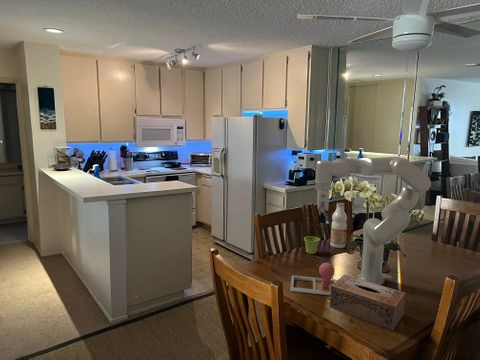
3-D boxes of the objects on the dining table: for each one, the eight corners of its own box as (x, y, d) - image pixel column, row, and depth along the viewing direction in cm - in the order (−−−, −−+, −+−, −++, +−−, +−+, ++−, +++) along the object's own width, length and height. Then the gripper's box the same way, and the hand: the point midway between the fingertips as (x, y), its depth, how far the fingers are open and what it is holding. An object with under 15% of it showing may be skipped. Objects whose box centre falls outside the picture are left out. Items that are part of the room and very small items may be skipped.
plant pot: (303, 249, 213) (303, 235, 212) (318, 250, 212) (319, 236, 211) (303, 254, 204) (304, 240, 203) (319, 255, 203) (320, 241, 202)
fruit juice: (327, 243, 224) (330, 202, 220) (340, 242, 226) (343, 201, 222) (334, 248, 215) (337, 205, 211) (348, 247, 217) (351, 204, 213)
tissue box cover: (403, 315, 141) (405, 292, 139) (393, 331, 130) (395, 306, 128) (343, 294, 157) (344, 274, 155) (329, 307, 146) (330, 285, 144)
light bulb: (330, 292, 158) (332, 267, 156) (315, 288, 161) (317, 264, 160) (335, 286, 164) (336, 262, 162) (320, 282, 167) (322, 259, 166)
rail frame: (336, 282, 168) (336, 279, 168) (339, 296, 155) (339, 293, 154) (291, 278, 172) (291, 275, 172) (290, 291, 159) (290, 288, 159)
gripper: (332, 189, 156) (330, 225, 159) (330, 183, 173) (328, 216, 176) (315, 188, 158) (313, 224, 160) (314, 182, 174) (313, 215, 177)
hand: (321, 220), depth 168 cm, fingers open, 9 cm apart
